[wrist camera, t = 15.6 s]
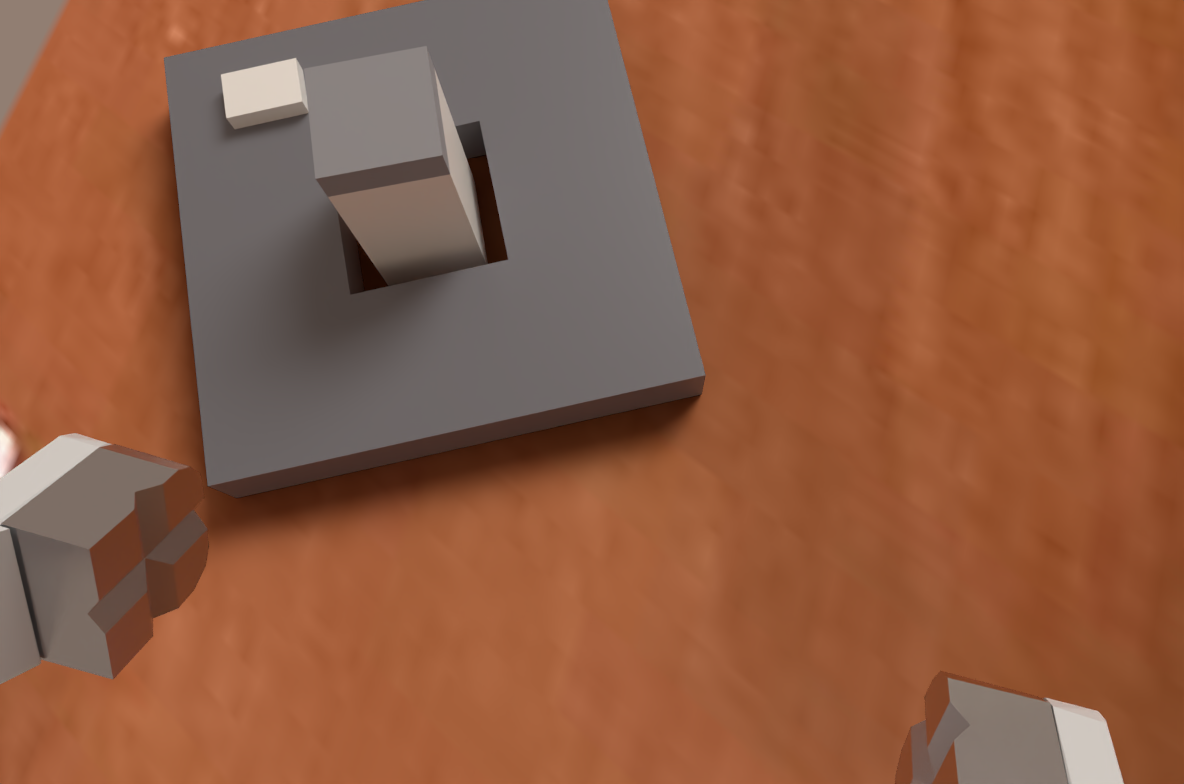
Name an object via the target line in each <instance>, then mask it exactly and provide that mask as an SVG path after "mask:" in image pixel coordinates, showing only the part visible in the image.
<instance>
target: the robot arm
mask: <svg viewBox="0 0 1184 784" xmlns="http://www.w3.org/2000/svg"><path fill="white" fill-rule="evenodd" d="M203 499H204V492H203V485H202V478H201V474H200V473H199V472H197V471H196V470H195V469H193V468H192V467H190V466H186V465H183V464H180V463H176V462H173V461H170V460H166V459H163V458H160V457H156V456H153V455H150V454H146V453H143V452H140V451H136V450H133V449H130V448H126V447H123V446H120V445H116V444H109V443H106V442H103V441H99V440H96V439H93V438H90V437H86V436H83V435H80V434H77V433H74V434H68V435H62V436H59V437H58V438H56V439H55V440H53V441H52V442H51V443H49V444H48V445H47V446H45V447H44V448H42V449H41V450H40V451H38V452H37V453H35V454H34V455H33V456H31V457H30V458H28V459H27V460H26V461H24V462H23V463H21V464H20V465H19V466H17V467H16V468H14V469H13V470H12V471H10V472H9V473H7V474H6V475H5V476H3V477H2V478H0V684H2V683H4V682H6V681H8V680H10V679H12V678H14V677H16V676H18V675H20V674H22V673H24V672H26V671H28V670H30V669H32V668H34V667H36V666H38V665H40V664H41V659H42V660H45V661H49V662H53V663H56V664H60V665H63V666H67V667H70V668H74V669H78V670H81V671H85V672H88V673H92V674H96V675H99V676H103V677H106V678H110V679H114V678H115V677H116V676H117V675H118V674H119V673H120V672H121V670H122V669H123V668H124V667H125V666H126V665H127V664H128V663H129V662H130V661H131V660H132V658H133V657H134V656H135V655H136V654H137V653H138V652H139V651H140V650H141V649H142V648H143V646H144V645H145V644H146V643H147V642H148V641H149V640H150V639H151V638H152V637H153V618H155V617H157V616H160V615H162V614H165V613H167V612H170V611H172V610H175V609H177V608H179V607H180V606H181V605H182V603H183V602H184V601H185V600H186V599H187V598H188V596H189V595H190V594H191V593H192V592H193V591H194V589H195V587H196V585H197V583H198V581H199V579H200V577H201V575H202V573H203V571H204V568H205V566H206V561H207V555H208V549H209V541H208V529H207V528H206V526H205V525H204V523H203V522H202V521H201V519H200V518H199V517H198V515H197V514H196V512H195V511H194V509H195V508H196V507H197V505H198V504H199V503H200V502H201V501H202V500H203ZM924 699H925V716H926V720H925V721H923V722H920V723H918V724H916V725H914V726H912V727H911V728H910V730H909V733H908V735H907V738H906V740H905V743H904V745H903V748H902V750H901V754H900V759H899V763H898V767H897V771H896V776H895V784H1124V782H1123V778H1122V775H1121V771H1120V768H1119V764H1118V761H1117V757H1116V754H1115V750H1114V747H1113V743H1112V740H1111V736H1110V733H1109V729H1108V726H1107V722H1106V720H1105V719H1104V717H1103V716H1102V715H1101V714H1100V713H1099V711H1096V710H1092V709H1088V708H1084V707H1080V706H1076V705H1072V704H1068V703H1064V702H1060V701H1056V700H1053V699H1049V698H1043V699H1042V698H1040V697H1038V696H1034V695H1030V694H1027V693H1023V692H1019V691H1015V690H1012V689H1008V688H1004V687H1000V686H996V685H993V684H989V683H985V682H981V681H978V680H974V679H970V678H966V677H962V676H959V675H955V674H951V673H947V672H943V671H940V672H939V673H938V674H937V675H936V676H935V677H934V679H933V680H932V682H931V684H930V686H929V688H928V690H927V693H926V695H925V697H924Z"/></svg>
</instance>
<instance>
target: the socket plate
mask: <svg viewBox="0 0 1184 784" xmlns="http://www.w3.org/2000/svg"><path fill="white" fill-rule="evenodd" d="M423 46H427V49H428V52H429V54H430V57H431V60H432V63H433V66H434V68H435V71H436V74H437V77H438V80H439V82H440V85H441V88H442V91H443V94H444V96H445V99H446V102H447V105H448V108H449V111H450V113H451V116H452V119H453V122H454V125H455V127H456V130H457V133H458V136H459V139H460V141H461V144H462V147H463V150H464V153H465V155H466V158H467V159H469V158H473V157H478V156H482V155H487V159H488V164H489V169H490V174H491V179H492V184H493V188H494V193H495V198H496V203H497V208H498V212H499V217H500V222H501V227H502V232H503V237H504V241H505V246H506V251H507V256H508V260H504V261H500V262H495V263H491V264H486V265H482V266H477V267H473V268H468V269H464V270H459V271H455V272H450V273H446V274H441V275H437V276H432V277H428V278H423V279H419V280H414V281H410V282H405V283H401V284H396V285H392V286H387V287H383V288H378V289H374V290H369V291H365V290H364V284H363V278H362V271H361V265H360V259H359V253H358V246H357V240H356V238H355V236H354V235H353V233H352V232H351V230H350V229H349V227H348V226H347V224H346V223H345V221H344V220H343V219H342V217H341V216H340V214H339V213H338V211H337V210H336V208H335V207H334V205H333V204H332V202H331V201H330V199H329V198H328V197H327V195H326V194H325V192H324V191H323V189H322V188H321V186H320V185H319V183H318V182H317V180H316V179H315V170H314V161H313V151H312V142H311V132H310V122H309V113H308V103H307V94H306V84H305V75H304V69H305V68H310V67H315V66H321V65H326V64H332V63H337V62H342V61H348V60H353V59H358V58H364V57H369V56H375V55H380V54H385V53H391V52H396V51H401V50H407V49H412V48H418V47H423ZM164 64H165V74H166V84H167V93H168V103H169V113H170V123H171V133H172V142H173V152H174V162H175V172H176V181H177V191H178V201H179V211H180V220H181V230H182V240H183V250H184V260H185V269H186V279H187V289H188V299H189V308H190V318H191V328H192V338H193V348H194V357H195V367H196V377H197V387H198V396H199V406H200V416H201V426H202V435H203V445H204V455H205V465H206V475H207V484H208V487H211V488H213V489H216V490H218V491H221V492H223V493H226V494H228V495H230V496H233V497H235V498H239V497H244V496H248V495H253V494H257V493H262V492H266V491H271V490H275V489H280V488H284V487H289V486H293V485H298V484H302V483H307V482H311V481H316V480H320V479H325V478H329V477H334V476H338V475H343V474H347V473H352V472H356V471H360V470H365V469H369V468H374V467H378V466H383V465H387V464H392V463H396V462H401V461H405V460H410V459H414V458H419V457H423V456H428V455H432V454H437V453H441V452H446V451H450V450H455V449H459V448H464V447H468V446H473V445H477V444H481V443H486V442H490V441H495V440H499V439H504V438H508V437H513V436H517V435H522V434H526V433H531V432H535V431H540V430H544V429H549V428H553V427H558V426H562V425H567V424H571V423H576V422H580V421H585V420H589V419H594V418H598V417H602V416H607V415H611V414H616V413H620V412H625V411H629V410H634V409H638V408H643V407H647V406H652V405H656V404H661V403H665V402H670V401H674V400H679V399H683V398H688V397H692V396H697V395H701V394H702V390H703V385H704V380H705V371H704V368H703V364H702V360H701V356H700V352H699V349H698V345H697V341H696V337H695V333H694V329H693V326H692V322H691V318H690V314H689V310H688V306H687V303H686V299H685V295H684V291H683V287H682V283H681V280H680V276H679V272H678V268H677V264H676V261H675V257H674V253H673V249H672V245H671V241H670V238H669V234H668V230H667V226H666V222H665V218H664V215H663V211H662V207H661V203H660V199H659V196H658V192H657V188H656V184H655V180H654V176H653V173H652V169H651V165H650V161H649V157H648V153H647V150H646V146H645V142H644V138H643V134H642V130H641V127H640V123H639V119H638V115H637V111H636V108H635V104H634V100H633V96H632V92H631V88H630V85H629V81H628V77H627V73H626V69H625V65H624V62H623V58H622V54H621V50H620V46H619V42H618V39H617V35H616V31H615V27H614V23H613V20H612V16H611V12H610V8H609V4H608V0H424V1H419V2H415V3H410V4H406V5H401V6H397V7H392V8H387V9H383V10H378V11H374V12H369V13H365V14H360V15H356V16H351V17H347V18H342V19H338V20H333V21H328V22H324V23H319V24H315V25H310V26H306V27H301V28H297V29H292V30H288V31H283V32H279V33H274V34H269V35H265V36H260V37H256V38H251V39H247V40H242V41H238V42H233V43H229V44H224V45H220V46H215V47H210V48H206V49H201V50H197V51H192V52H188V53H183V54H179V55H174V56H170V57H165V58H164Z"/></svg>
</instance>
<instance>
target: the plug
mask: <svg viewBox="0 0 1184 784" xmlns="http://www.w3.org/2000/svg"><path fill="white" fill-rule="evenodd" d="M304 75H305V84H306V94H307V103H308V113H309V122H310V132H311V142H312V151H313V161H314V170H315V179H316V180H317V182H318V183H319V185H320V186H321V188H322V189H323V191H324V192H325V194H326V195H327V197H328V198H329V199H330V201H331V202H332V204H333V205H334V207H335V208H336V210H337V211H338V213H339V214H340V216H341V217H342V219H343V220H344V221H345V223H346V224H347V226H348V227H349V229H350V230H351V232H352V233H353V235H354V236H355V238H356V239H357V241H358V242H359V243H360V245H361V246H362V248H363V249H364V251H365V252H366V254H367V255H368V257H369V258H370V260H371V261H372V263H373V264H374V265H375V267H376V268H377V270H378V271H379V273H380V274H381V276H382V277H383V279H384V280H385V282H386V283H387V285H388V286H392V285H396V284H401V283H405V282H410V281H414V280H419V279H423V278H428V277H432V276H437V275H441V274H446V273H450V272H455V271H459V270H464V269H468V268H473V267H477V266H482V265H486V264H488V262H487V256H486V250H485V243H484V237H483V231H482V224H481V218H480V211H479V205H478V199H477V192H476V186H475V181H474V178H473V175H472V172H471V169H470V167H469V164H468V161H467V158H466V155H465V153H464V150H463V147H462V144H461V141H460V139H459V136H458V133H457V130H456V127H455V125H454V122H453V119H452V116H451V113H450V111H449V108H448V105H447V102H446V99H445V96H444V94H443V91H442V88H441V85H440V82H439V80H438V77H437V74H436V71H435V68H434V66H433V63H432V60H431V57H430V54H429V52H428V49H427V46H423V47H418V48H412V49H407V50H401V51H396V52H391V53H385V54H380V55H375V56H369V57H364V58H358V59H353V60H348V61H342V62H337V63H332V64H326V65H321V66H315V67H310V68H305V69H304Z"/></svg>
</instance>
